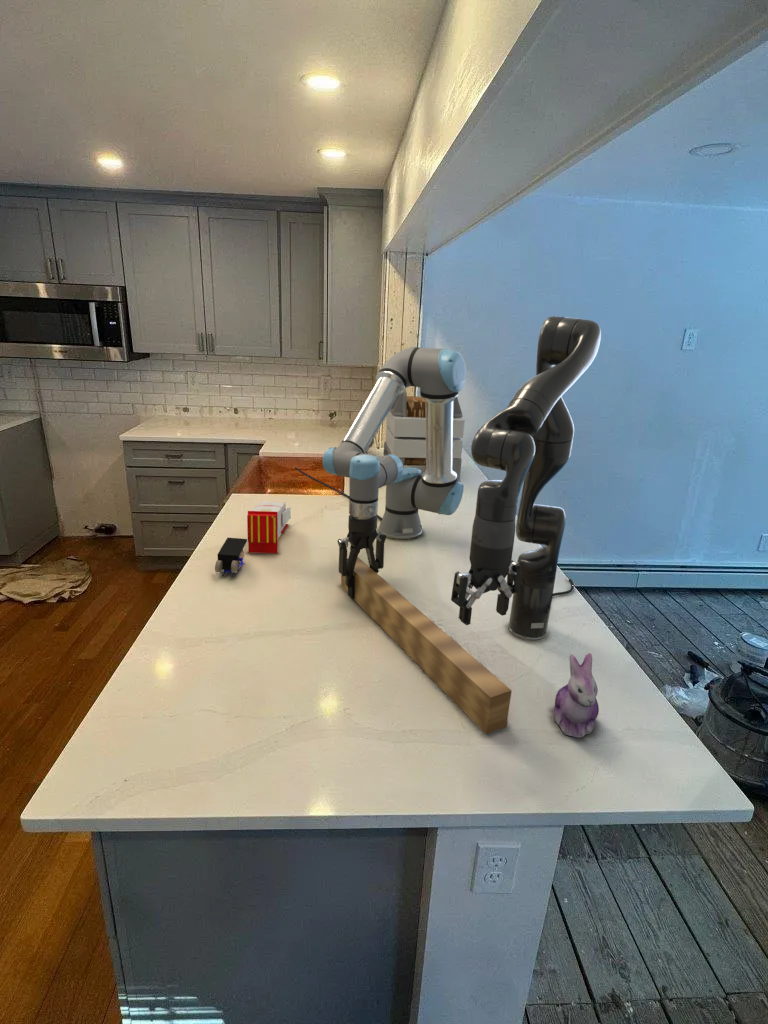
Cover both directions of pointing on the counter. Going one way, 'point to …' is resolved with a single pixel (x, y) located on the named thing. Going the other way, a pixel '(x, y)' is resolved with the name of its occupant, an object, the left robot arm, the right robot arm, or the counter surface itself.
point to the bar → (433, 650)
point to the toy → (266, 526)
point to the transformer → (417, 432)
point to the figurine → (577, 700)
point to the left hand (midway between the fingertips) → (360, 594)
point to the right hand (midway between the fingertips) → (483, 618)
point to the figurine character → (230, 556)
